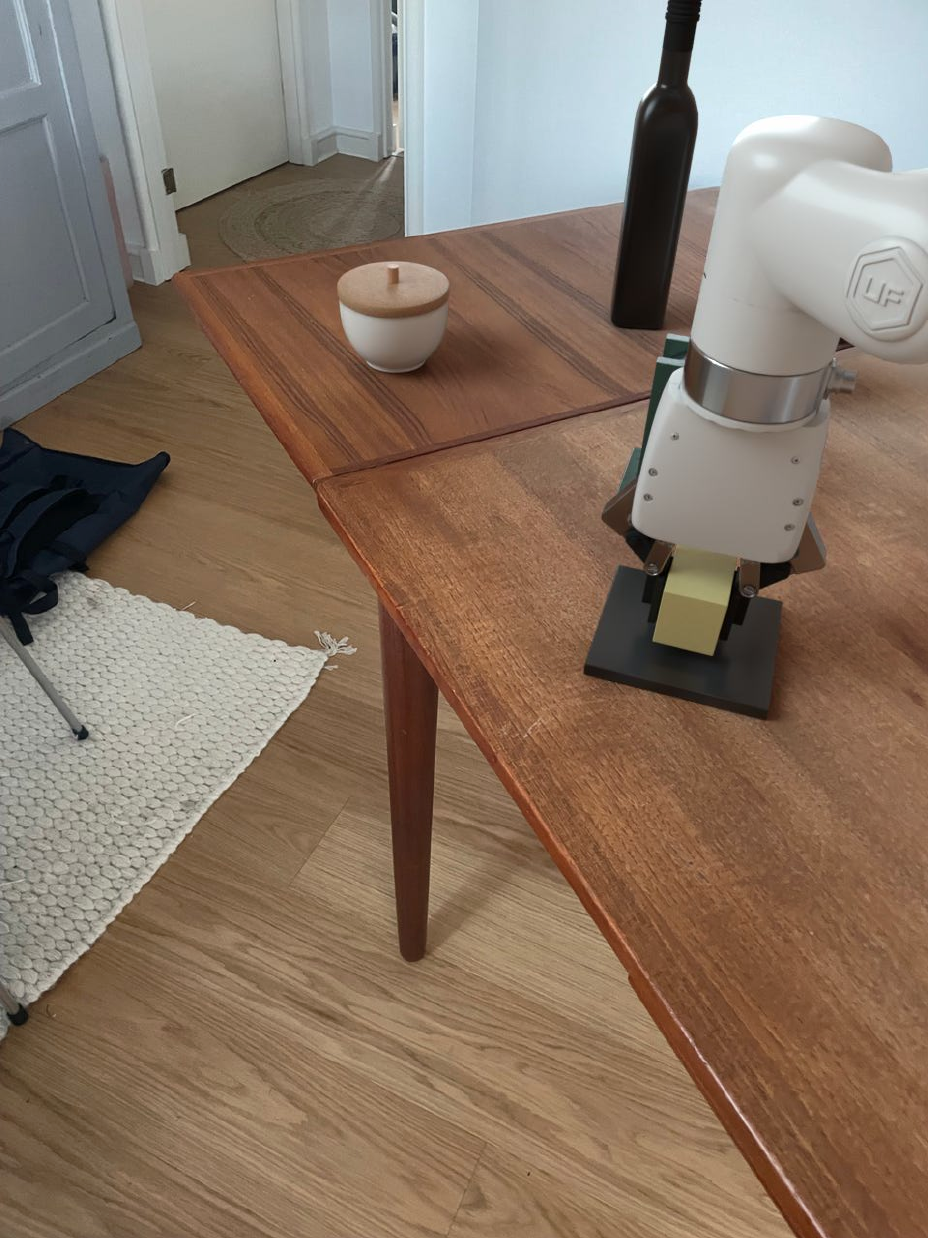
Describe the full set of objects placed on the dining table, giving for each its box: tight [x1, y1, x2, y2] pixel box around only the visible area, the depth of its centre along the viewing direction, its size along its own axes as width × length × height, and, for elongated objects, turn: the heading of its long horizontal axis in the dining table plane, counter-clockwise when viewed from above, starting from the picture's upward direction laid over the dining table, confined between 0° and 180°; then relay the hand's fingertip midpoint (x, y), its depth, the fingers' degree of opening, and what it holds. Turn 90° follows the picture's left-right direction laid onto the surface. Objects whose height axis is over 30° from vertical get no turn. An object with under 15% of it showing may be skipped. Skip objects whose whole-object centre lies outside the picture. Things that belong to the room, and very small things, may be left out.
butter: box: [653, 544, 738, 656], centre depth 62 cm, size 4×6×4 cm, turn 161°
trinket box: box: [336, 260, 451, 374], centre depth 91 cm, size 11×11×9 cm
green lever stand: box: [615, 333, 690, 495], centre depth 73 cm, size 7×9×13 cm
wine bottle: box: [609, 0, 703, 330], centre depth 92 cm, size 6×6×30 cm
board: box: [582, 564, 784, 721], centre depth 65 cm, size 12×11×1 cm
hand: (690, 616), depth 63 cm, fingers closed on butter, 4 cm apart
